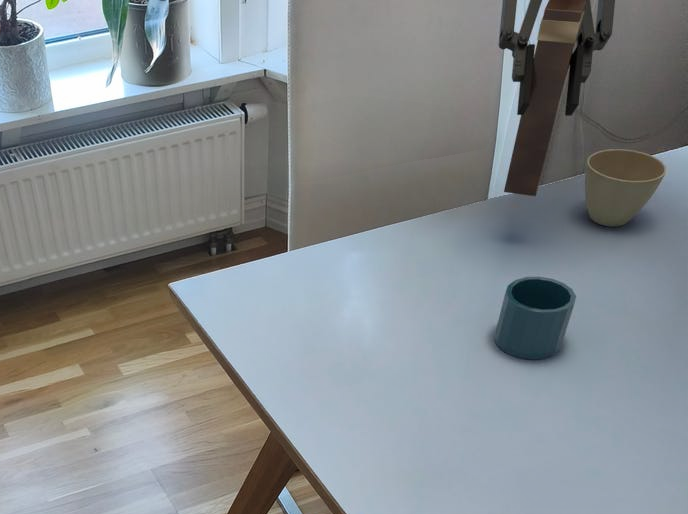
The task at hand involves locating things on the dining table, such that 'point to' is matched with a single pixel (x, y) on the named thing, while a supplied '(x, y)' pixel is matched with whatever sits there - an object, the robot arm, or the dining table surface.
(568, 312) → the holder
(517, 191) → the dark brown long bar
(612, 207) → the flower pot
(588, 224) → the dining table surface
